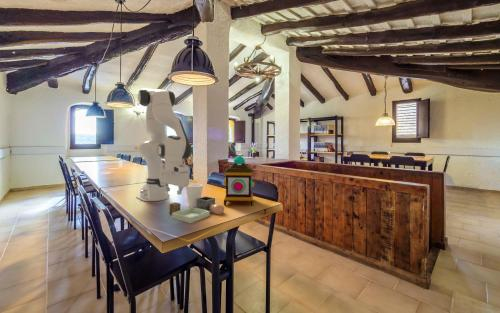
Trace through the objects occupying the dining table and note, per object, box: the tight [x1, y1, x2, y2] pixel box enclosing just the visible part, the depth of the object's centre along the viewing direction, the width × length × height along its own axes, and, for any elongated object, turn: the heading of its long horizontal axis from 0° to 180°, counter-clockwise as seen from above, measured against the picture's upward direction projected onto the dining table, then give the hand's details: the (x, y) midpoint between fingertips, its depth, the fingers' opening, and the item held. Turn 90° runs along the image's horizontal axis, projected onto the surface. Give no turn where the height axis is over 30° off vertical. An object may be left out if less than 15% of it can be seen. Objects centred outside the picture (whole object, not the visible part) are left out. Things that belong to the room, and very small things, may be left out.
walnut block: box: [168, 201, 181, 215], centre depth 126 cm, size 4×4×6 cm
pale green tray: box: [171, 207, 211, 224], centre depth 121 cm, size 13×13×3 cm
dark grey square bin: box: [196, 196, 216, 211], centre depth 133 cm, size 7×7×7 cm
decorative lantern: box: [223, 155, 256, 207], centre depth 150 cm, size 20×20×30 cm
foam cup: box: [185, 183, 204, 208], centre depth 140 cm, size 10×9×13 cm
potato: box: [209, 203, 225, 216], centre depth 128 cm, size 6×5×5 cm
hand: (173, 192), depth 126 cm, fingers open, 8 cm apart
